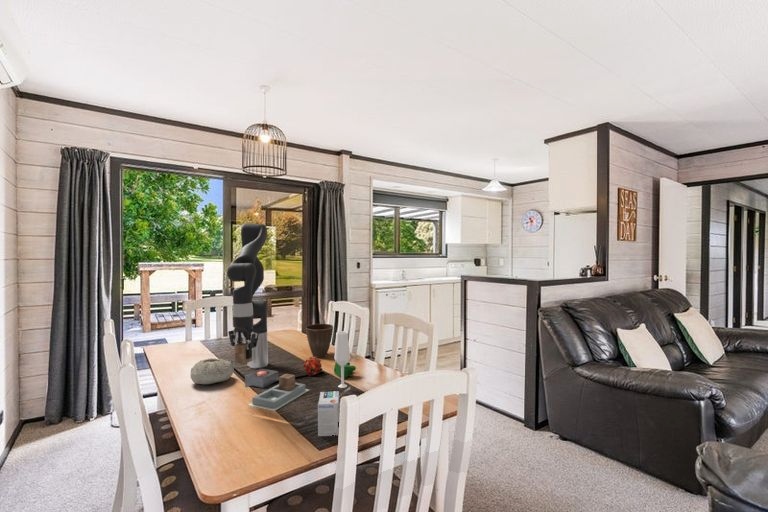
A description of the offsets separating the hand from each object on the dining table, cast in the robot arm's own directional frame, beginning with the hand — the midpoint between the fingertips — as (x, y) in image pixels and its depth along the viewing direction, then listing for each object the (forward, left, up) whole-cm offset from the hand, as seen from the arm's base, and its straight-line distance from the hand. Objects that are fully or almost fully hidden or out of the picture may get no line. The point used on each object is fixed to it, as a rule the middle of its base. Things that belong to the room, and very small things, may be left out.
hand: (243, 357), depth 155 cm
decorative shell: (-30, +11, -18) cm, 37 cm away
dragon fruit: (+6, +37, -18) cm, 42 cm away
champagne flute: (+28, +27, -18) cm, 43 cm away
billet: (+11, +12, -17) cm, 23 cm away
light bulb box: (+42, -6, -18) cm, 46 cm away
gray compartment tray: (+11, +7, -18) cm, 22 cm away
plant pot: (-8, +64, -18) cm, 67 cm away
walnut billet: (0, 0, -2) cm, 2 cm away
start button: (-7, +17, -16) cm, 25 cm away
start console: (-7, +17, -18) cm, 26 cm away
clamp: (+21, +43, -18) cm, 51 cm away
